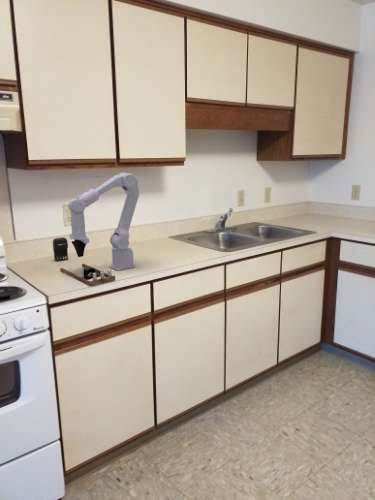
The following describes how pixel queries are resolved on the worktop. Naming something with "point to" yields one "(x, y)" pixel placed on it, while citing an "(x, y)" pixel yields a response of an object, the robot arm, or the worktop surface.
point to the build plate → (89, 270)
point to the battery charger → (60, 249)
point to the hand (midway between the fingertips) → (80, 256)
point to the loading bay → (95, 280)
